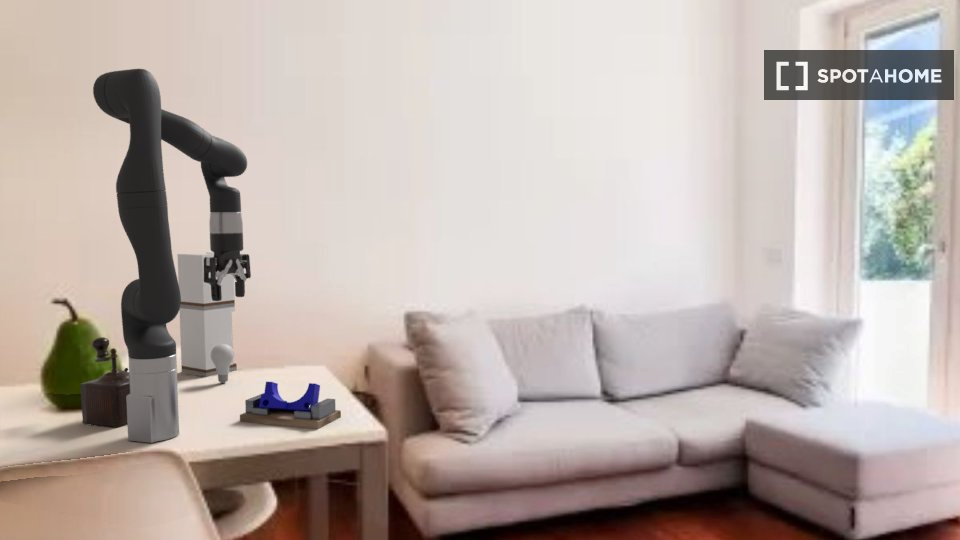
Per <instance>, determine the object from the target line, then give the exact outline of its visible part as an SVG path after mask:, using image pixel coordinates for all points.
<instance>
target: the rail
mask: <svg viewBox="0 0 960 540" xmlns="http://www.w3.org/2000/svg"><path fill="white" fill-rule="evenodd" d="M261 394H264V392H263V393H261ZM261 394H260V393H259V394H258V395H255V396H252V397H250V398H248V399H245V412H243V413H240V414H239V422H242V423H244V422H245V423H251V424H252V423H253V424H265V425H272V426H273V425H274V426H285V427H294V428H295V427H296V428H303V429H304V428H305V429H315V430H316V429H317V430H319V429H321V428H323V427H325V426H327V425H329V424H330V423H332V422H334V421H335V420H338V419H340V418H341V416H342V413H341V411H342V410H337V409H336V398H326V399H323V400H321V401H318V403H317V404H314V405H312V406H311V411H290V410H270V408H261V407H259V406H260V399H261ZM284 401H285V402H288V401H287V400H284Z"/></svg>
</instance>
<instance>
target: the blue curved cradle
mask: <svg viewBox="0 0 960 540" xmlns="http://www.w3.org/2000/svg"><path fill="white" fill-rule="evenodd" d="M278 386H279V384H278V383H277V382H274V381H265V385H264V392H263V393H264V394H263V393H261V399H260V406H259V407H261V408H270V410H290V411H311V406H312V405H314V404H317V403H319V399H320V398H319V397H320V390H321V384H318V383H314V382H313V383H311V382H310V383H308V386H307V389H306V391H305V393H304V394H303V395H302V396H301V397H300V398H299V399H297V400H295V401H291V402H289V401H287V402H285V401H286V400H284V399H283V398H282V396H281V395H280V392H279V390H278Z"/></svg>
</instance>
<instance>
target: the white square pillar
mask: <svg viewBox="0 0 960 540" xmlns="http://www.w3.org/2000/svg"><path fill="white" fill-rule="evenodd" d="M176 256H177V275H178V276H177V280H178V284H179V289H180V295H181V305H180V310H179V332H180V333H179V334H180V360H181V361H180V362H181V373H182V374H187V375H188V374H189V375H193V376H199V377H204V378H209V377H213V376H218V374H217V370H216V367H215V365H214V363H213V361H212V360H211V351H212V349H213V348H214V347H215V346H216V345H219V344H227V345H229V346H230V347H231V348H232V349H233V350H234V347H233V346H234V344H233V341H234V340H233V316H232V315H233V314H232V313H233V312H235V311H236V307H235V306H236V305H235V279H234V277H233V275H231V274H226V276H225V277H224V278H223V279H222V282H221V284H220V285H221V295H222V300H221V301H213V300H212V297H211V285H210V284H209V283H205V282H204V258H205V257H214V252H212V251H211V252H208V251H207V252H205V254H193V253H177V255H176ZM209 278H211V273H210V272H209ZM217 278H218V277H217ZM217 278H216V279H217ZM237 366H238V365H237V363H235V362H234V359H233V360H232V362H231V364H230V367H229V373H231V372H235V371H237V370H238V369H237Z"/></svg>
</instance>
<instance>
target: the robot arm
mask: <svg viewBox="0 0 960 540" xmlns="http://www.w3.org/2000/svg"><path fill="white" fill-rule="evenodd" d="M92 94H93V98H94V101H95V103H96V105H97V107H99V109H100V110H101V111H102V112H103V113H104V114H106V115H108V116H110V117H111V118H114V119H116V120H118V121H121V122H124V123H126V124H128V125H129V143H128V144H129V145H128V148H127V151H126V155H125V157H124V160H123V161H122V164H121V166H120V169H119V172H118V174H117V178H116V183H115V192H116V199H117V201H116V202H117V208H118V216H119V218H120V219H119V220H120V222H121V225H122V228H123V230H124V232H125V235H126V236H127V239H128V241H129V243H130V244H131V247H132V249H133V251H134V254H135V257H136V258H135V259H136V261H137V271H138V278H137V279H134V280H132V281H131V282H129V283H128V284H127V285H126V287H125V288H124V290H123V292H122V295H121V299H120V301H121V303H120V312H121V313H120V314H121V323H122V325H121V326H122V335H123V341H124V344H125V346H126V348H127V354H128V355H127V356H128V372H129V383H130V394H129V395H127V397H126V400H127V440H128V441H130V442H132V441H133V442H139V443H147V444H152V443H156V442H159V441H167V440H171V439H173V438H175V437H177V436H178V435H180V420H179V419H180V416H179V415H180V414H179V413H180V412H179V394H178V393H179V392H178V391H179V390H178V389H179V388H178V365H177V363H178V362H177V359H178V358H177V343H176V340H175V339H174V338H173V336H172V335H171V334H170V332H169V331H168V328H167V324H169V323H170V322H172V321H174V319H176V317H177V315H178V314H179V313H180V311H179V310H180V305H181V295H180V289H179V283H178V276H177V275H178V274H177V272H176V267H175V263H174V262H175V261H174V256H173V250H172V249H173V248H172V240H171V239H172V238H171V232H170V231H171V230H170V223H169V213H168V212H169V210H168V201H167V200H168V197H167V196H168V195H167V190H166V183H165V174H164V163H163V162H164V161H163V150H162V147H163V146H162V142H165V143H167V144H169V145H170V146H171V147H173V148H175V149H177V150H178V151H180V152H181V153H182V154H184V155H186V156H187V157H188V158H190V159H192V160H193V161H196V162H200V169H201V172H202V176H203V179H204V182H205V185H206V188H207V192H208V195H209V212H210V213H209V221H208V222H209V245H210V247H209V248H210V251H211V252H214V257H205V258H204V282H205V283H209V284H210V285H211V297H212V300H213V301H221V300H222V295H221V285H220V284H221V282H222V279H223V278H224V277H225V276H226V274H231V275H233V277H234V297H235V298H236V297H237V298H243V297H245V294H246V290H245V289H246V288H245V287H246V286H245V284H246V283H245V282H246V281H247V279H251V277H252V273H251V263H250V262H251V261H250V260H251V259H250V254H248V253H246V254H245V253H242V254H241V252H242V251H243V250H244V229H243V228H244V227H243V225H244V224H243V218H242V205H241V204H242V203H241V201H242V200H241V199H242V198H241V191H240V190H239V189H237V188H236V187H232V186H229V185H228V183H227V181H226V179H225V178H235V177H236V178H237V177H239V176H241V175H243V174H244V173H245V172H246V171H247V168H248V159H247V157H246V155H245V153H244V151H243V150H242V149H241V148H240V147H239V146H237V145H235V144H234V143H232V142H229V141H227V140H224V139H223V138H220V137H216V136H215V135H212V134H211V133H210V132H208V131H207V130H206V129H205V128H204V127H201V126H200V125H199V124H198V123H196V122H195V121H192V120H190V119H188V118H186V117H184V116H181V115H179V114H175V113H173V112H170V111H168V110H165V109H163V108H162V99H161V92H160V87H159V85H158V81H157V80H156V78H155V77H154V75H153V74H152V73H151V72H150V71H148V70H147V69H145V68H131V69H130V68H129V69H122V70H115V71H109V72H105V73H103V74H100V75H99V76H98V77H97V78H96V80H95V81H94V83H93V88H92ZM209 272H210V273H211V278H209ZM217 277H218V278H217ZM216 278H217V279H216Z"/></svg>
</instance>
